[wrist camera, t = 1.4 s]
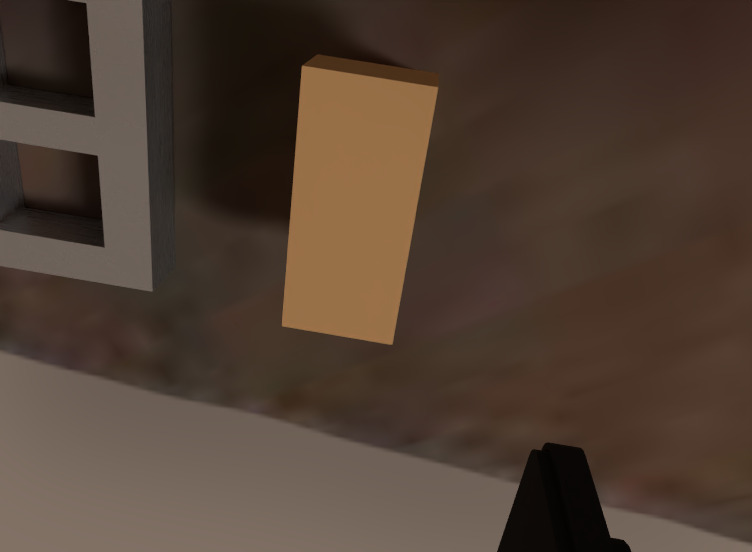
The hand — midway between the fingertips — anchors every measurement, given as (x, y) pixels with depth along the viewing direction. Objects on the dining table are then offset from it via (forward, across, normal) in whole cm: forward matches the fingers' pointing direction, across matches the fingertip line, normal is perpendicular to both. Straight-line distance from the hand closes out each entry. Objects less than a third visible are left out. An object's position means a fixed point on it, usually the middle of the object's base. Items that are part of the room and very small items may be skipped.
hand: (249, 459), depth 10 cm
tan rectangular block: (+17, 0, 0) cm, 17 cm away
